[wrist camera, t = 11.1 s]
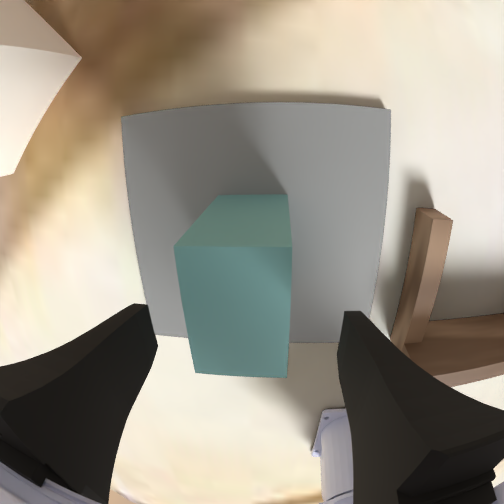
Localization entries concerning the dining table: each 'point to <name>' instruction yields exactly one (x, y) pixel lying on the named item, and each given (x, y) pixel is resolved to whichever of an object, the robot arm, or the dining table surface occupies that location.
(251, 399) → the dining table surface
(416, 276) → the bay
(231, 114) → the board
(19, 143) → the milk
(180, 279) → the block
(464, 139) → the dining table surface
